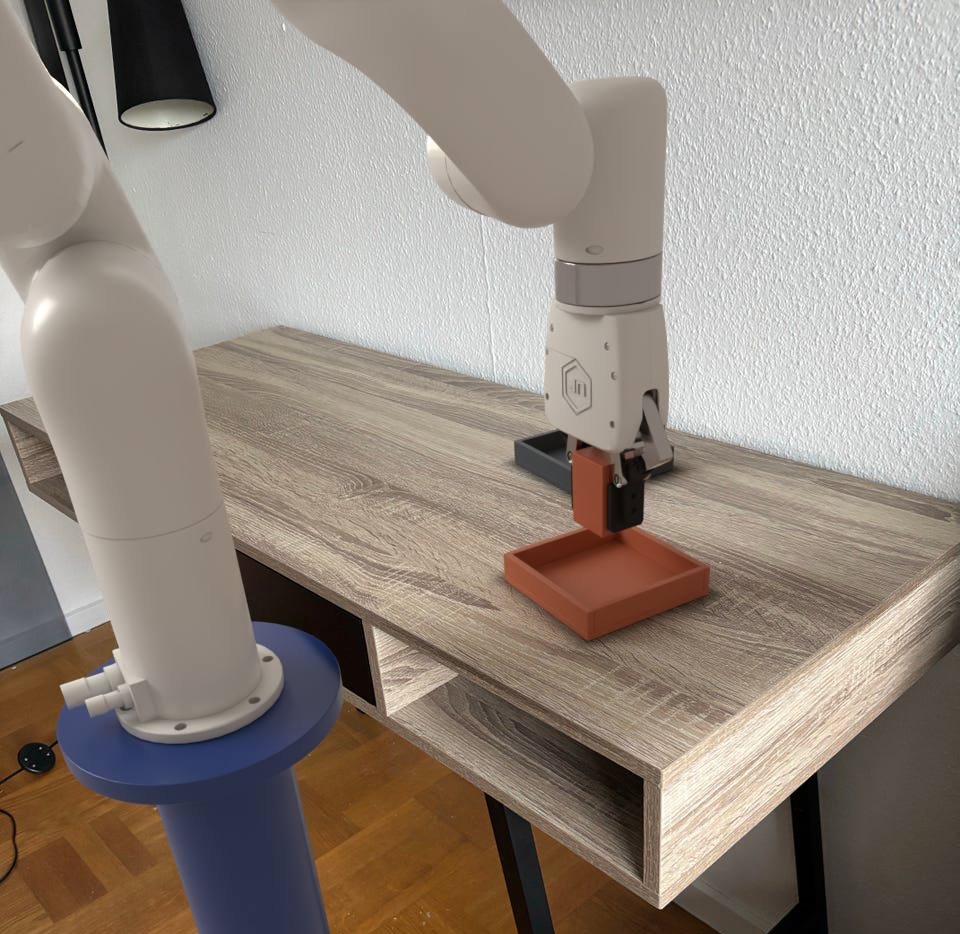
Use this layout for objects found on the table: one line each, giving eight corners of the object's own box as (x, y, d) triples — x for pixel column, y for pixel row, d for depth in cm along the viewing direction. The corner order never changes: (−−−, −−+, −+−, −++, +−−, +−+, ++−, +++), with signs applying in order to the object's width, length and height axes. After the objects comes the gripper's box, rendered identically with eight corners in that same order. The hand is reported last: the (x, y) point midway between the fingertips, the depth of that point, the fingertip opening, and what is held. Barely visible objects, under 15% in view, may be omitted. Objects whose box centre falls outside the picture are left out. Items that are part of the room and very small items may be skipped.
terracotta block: (602, 538, 74) (602, 466, 71) (572, 521, 77) (571, 451, 74) (642, 524, 76) (644, 453, 73) (612, 507, 79) (612, 439, 76)
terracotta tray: (588, 641, 73) (588, 612, 71) (504, 580, 82) (503, 553, 80) (708, 594, 78) (710, 566, 76) (617, 541, 87) (617, 515, 85)
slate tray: (579, 499, 95) (579, 475, 94) (514, 463, 104) (513, 440, 103) (673, 469, 100) (674, 446, 99) (603, 437, 109) (603, 416, 108)
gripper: (500, 272, 71) (512, 496, 81) (641, 311, 59) (635, 570, 69) (581, 256, 74) (583, 474, 84) (731, 290, 62) (713, 540, 72)
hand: (606, 514), depth 76 cm, fingers closed on terracotta block, 4 cm apart
